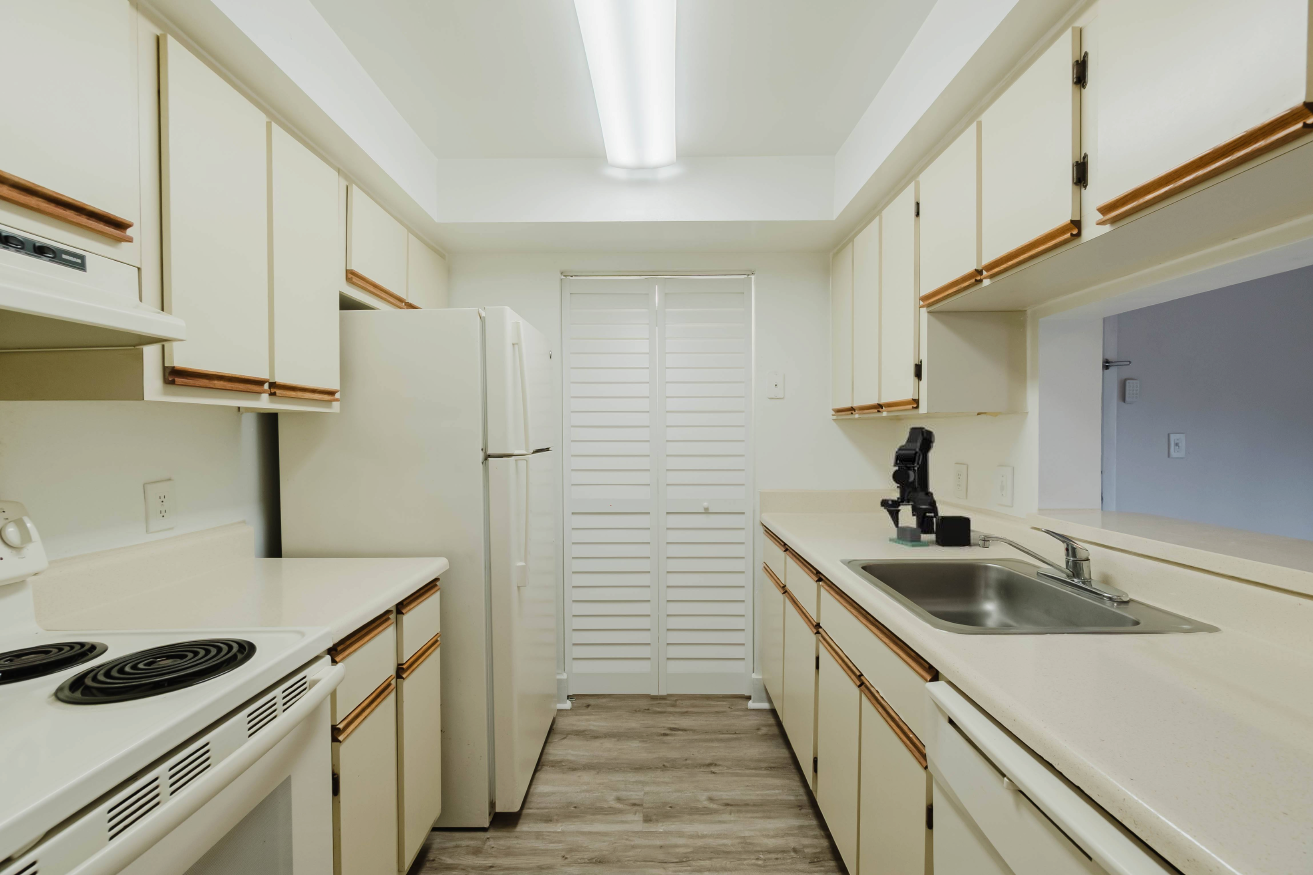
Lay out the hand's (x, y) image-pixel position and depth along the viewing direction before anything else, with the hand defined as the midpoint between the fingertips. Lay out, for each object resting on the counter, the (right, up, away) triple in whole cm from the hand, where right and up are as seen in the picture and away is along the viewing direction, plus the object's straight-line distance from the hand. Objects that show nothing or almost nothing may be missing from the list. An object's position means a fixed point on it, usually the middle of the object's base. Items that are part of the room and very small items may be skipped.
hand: (908, 527), depth 190 cm
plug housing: (0, -5, 0) cm, 5 cm away
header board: (0, -6, 0) cm, 6 cm away
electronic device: (+13, -6, -4) cm, 15 cm away
